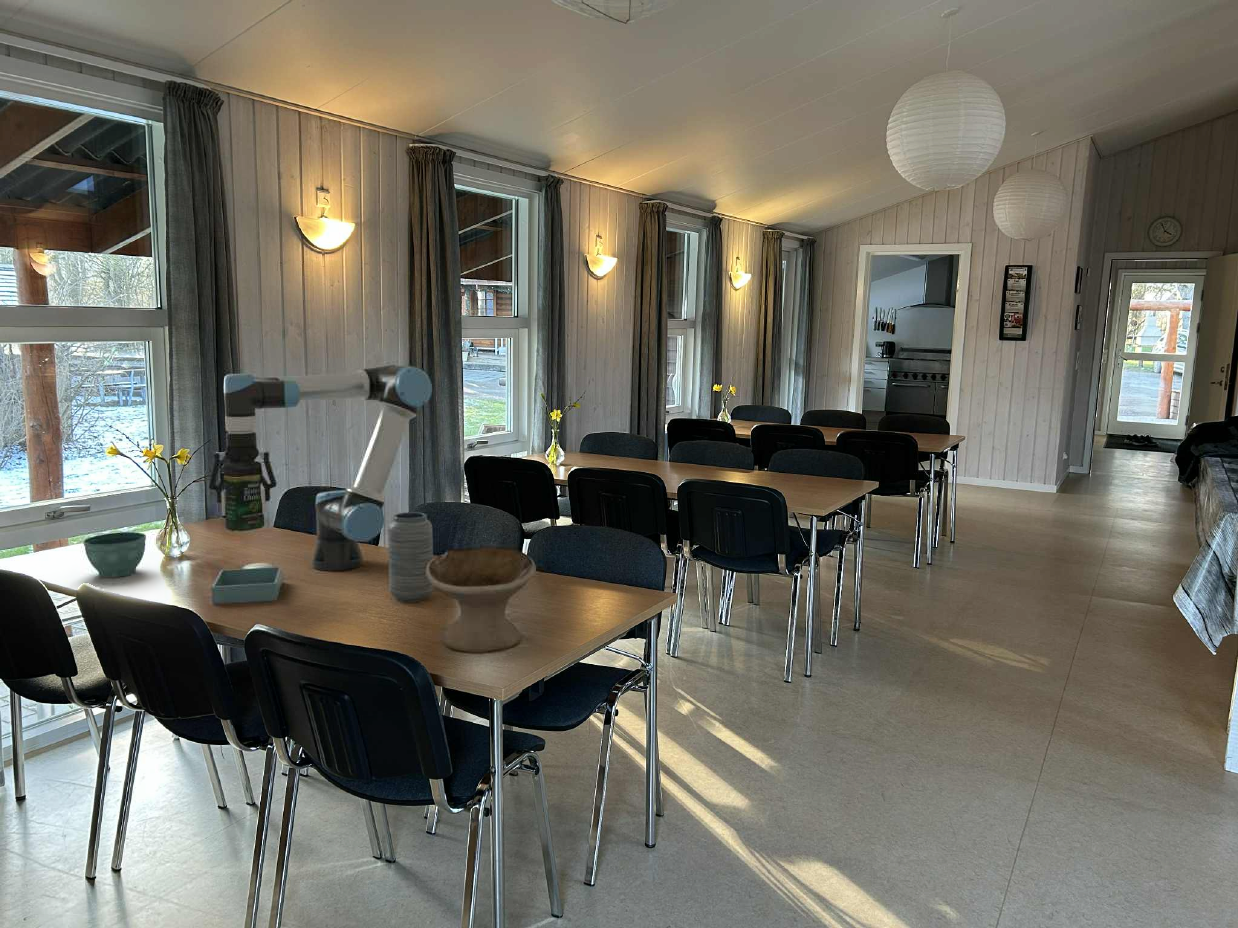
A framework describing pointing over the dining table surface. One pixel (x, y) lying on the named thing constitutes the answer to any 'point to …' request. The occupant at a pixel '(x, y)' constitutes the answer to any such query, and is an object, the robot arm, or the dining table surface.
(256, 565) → the white oval disc
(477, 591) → the bowl
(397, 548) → the vase
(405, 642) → the dining table surface
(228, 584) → the bin
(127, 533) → the green bowl
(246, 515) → the coffee jar
